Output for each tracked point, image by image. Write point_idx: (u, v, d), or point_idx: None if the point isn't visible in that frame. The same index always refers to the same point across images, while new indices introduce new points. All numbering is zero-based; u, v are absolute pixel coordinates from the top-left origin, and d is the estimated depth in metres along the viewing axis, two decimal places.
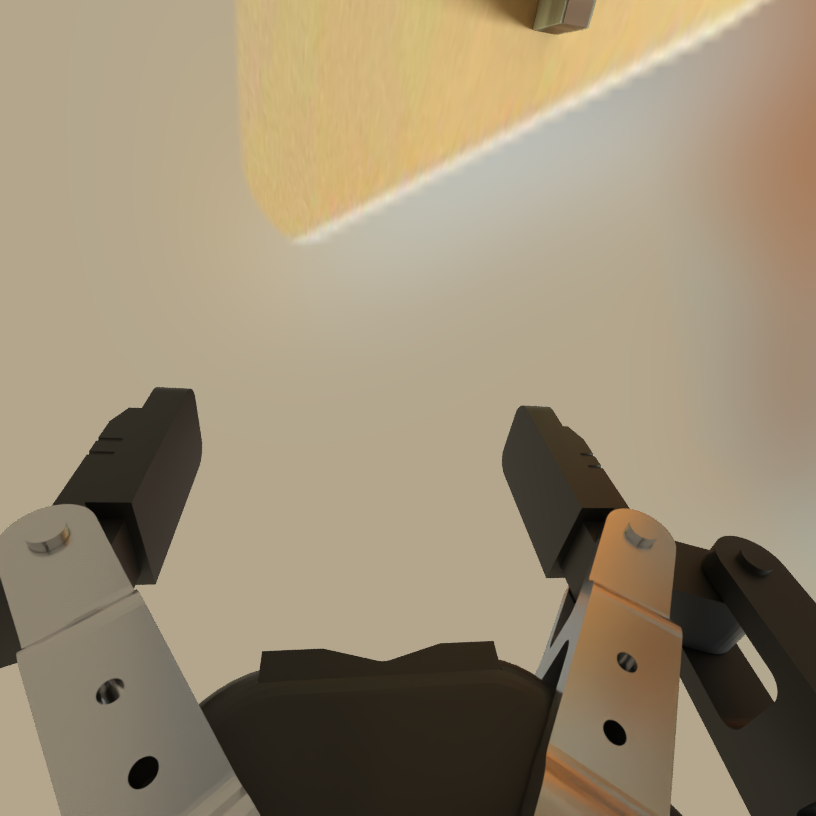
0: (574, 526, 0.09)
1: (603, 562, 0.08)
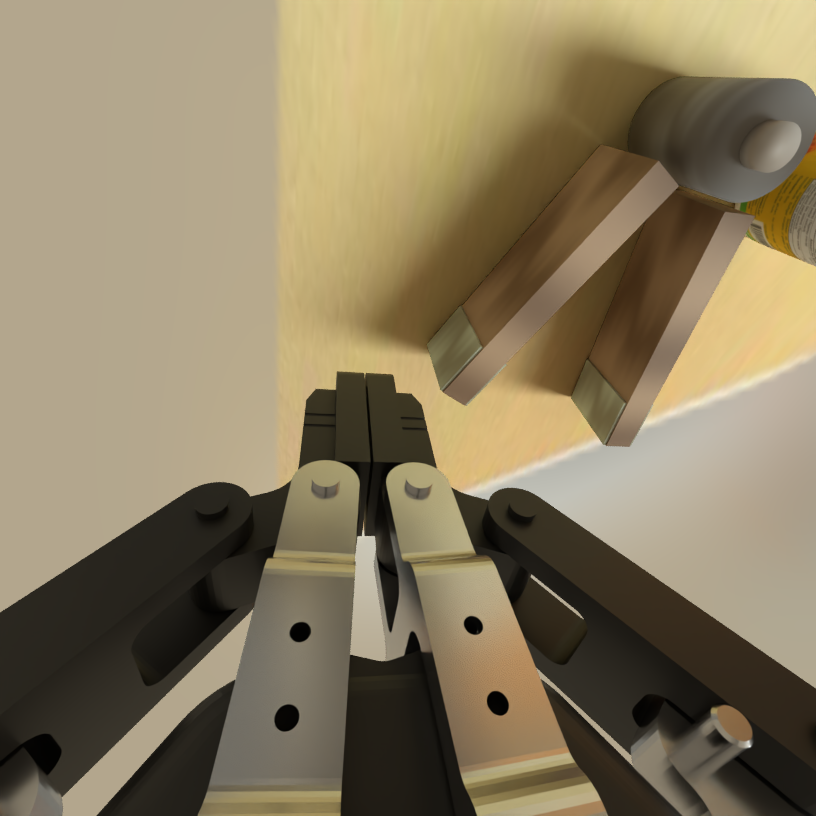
0: (374, 481, 0.09)
1: (405, 532, 0.07)
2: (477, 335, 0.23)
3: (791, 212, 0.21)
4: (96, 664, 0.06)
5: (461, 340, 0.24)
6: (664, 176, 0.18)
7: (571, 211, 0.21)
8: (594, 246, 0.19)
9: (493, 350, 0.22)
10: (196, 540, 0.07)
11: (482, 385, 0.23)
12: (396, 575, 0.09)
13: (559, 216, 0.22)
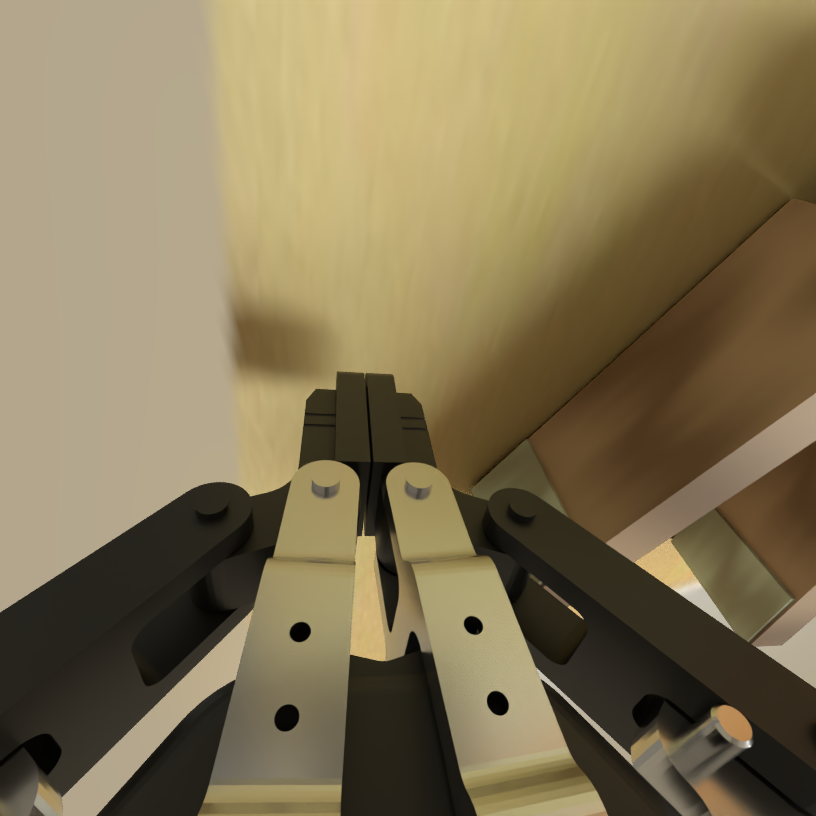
0: (374, 481, 0.09)
1: (405, 532, 0.07)
2: (569, 516, 0.14)
3: None
4: (96, 664, 0.06)
5: None
6: None
7: (751, 320, 0.12)
8: None
9: None
10: (196, 540, 0.07)
11: None
12: (396, 575, 0.09)
13: (721, 324, 0.12)
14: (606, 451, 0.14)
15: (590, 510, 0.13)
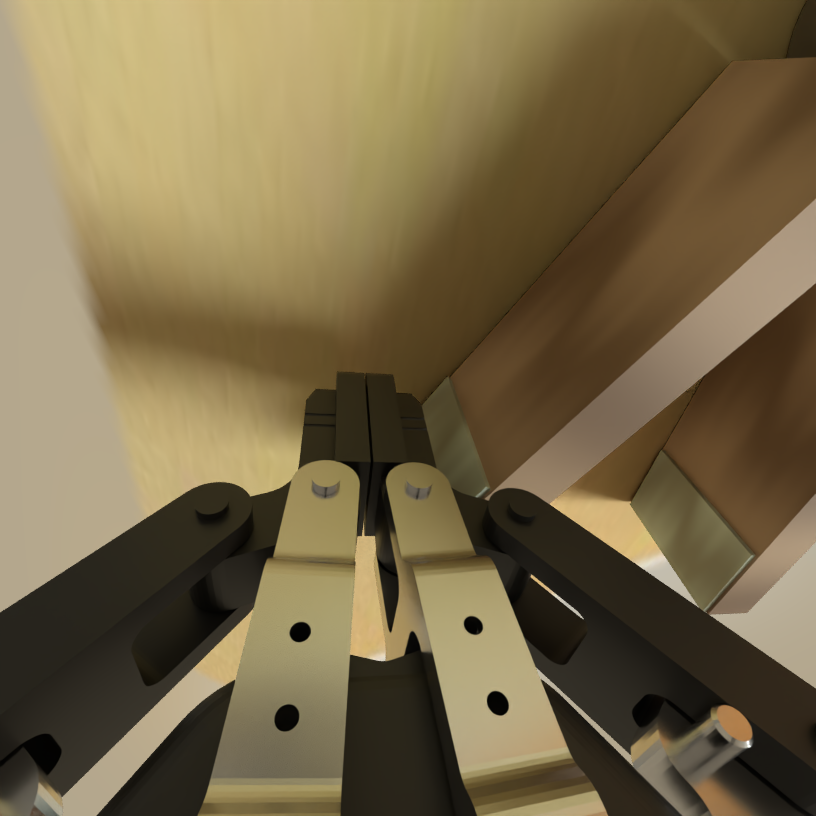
0: (374, 481, 0.09)
1: (404, 532, 0.07)
2: (478, 452, 0.11)
3: None
4: (96, 664, 0.06)
5: (448, 456, 0.12)
6: None
7: (680, 201, 0.10)
8: (758, 282, 0.08)
9: None
10: (196, 540, 0.07)
11: None
12: (396, 575, 0.09)
13: (648, 214, 0.10)
14: (521, 375, 0.12)
15: (499, 442, 0.11)
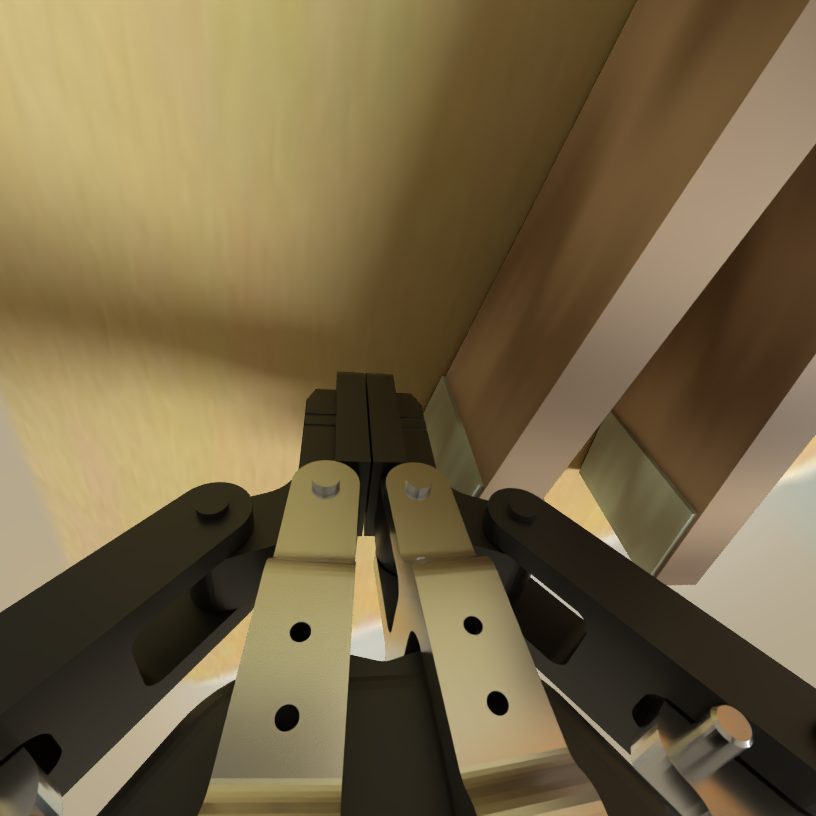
0: (374, 481, 0.09)
1: (404, 532, 0.07)
2: (472, 450, 0.11)
3: None
4: (96, 664, 0.06)
5: (448, 456, 0.12)
6: None
7: (613, 148, 0.09)
8: (698, 220, 0.07)
9: (507, 486, 0.10)
10: (196, 540, 0.07)
11: None
12: (396, 575, 0.09)
13: (588, 169, 0.10)
14: (499, 364, 0.11)
15: (487, 436, 0.11)
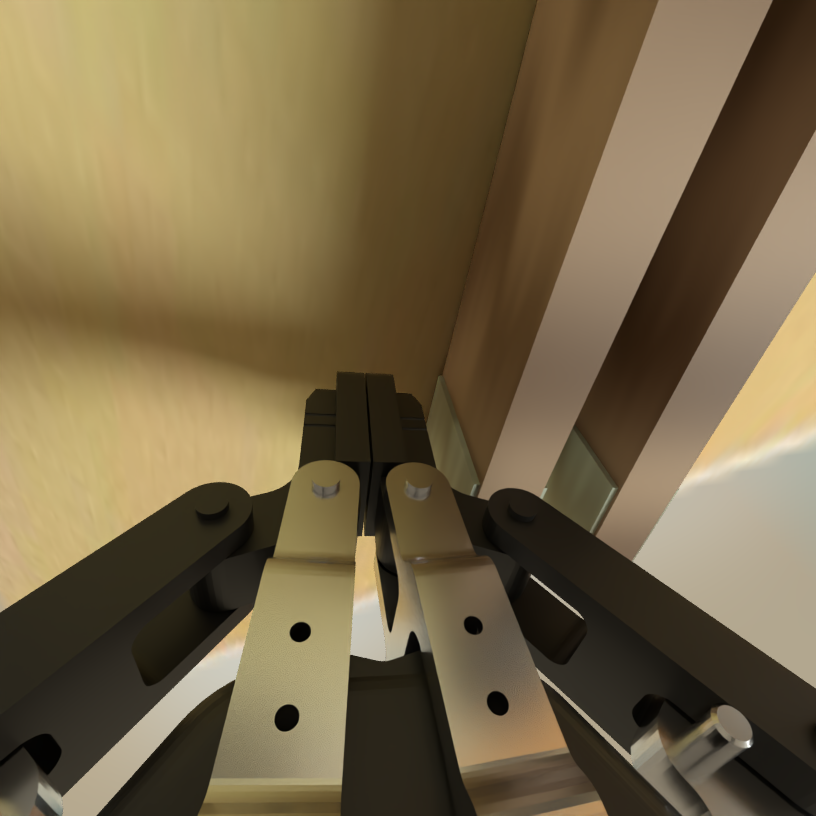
0: (374, 481, 0.09)
1: (404, 532, 0.07)
2: (468, 448, 0.11)
3: None
4: (96, 664, 0.06)
5: (450, 457, 0.12)
6: None
7: (543, 120, 0.09)
8: (627, 182, 0.07)
9: (503, 481, 0.10)
10: (196, 540, 0.07)
11: None
12: (396, 575, 0.09)
13: (526, 145, 0.09)
14: (479, 358, 0.11)
15: (477, 433, 0.11)
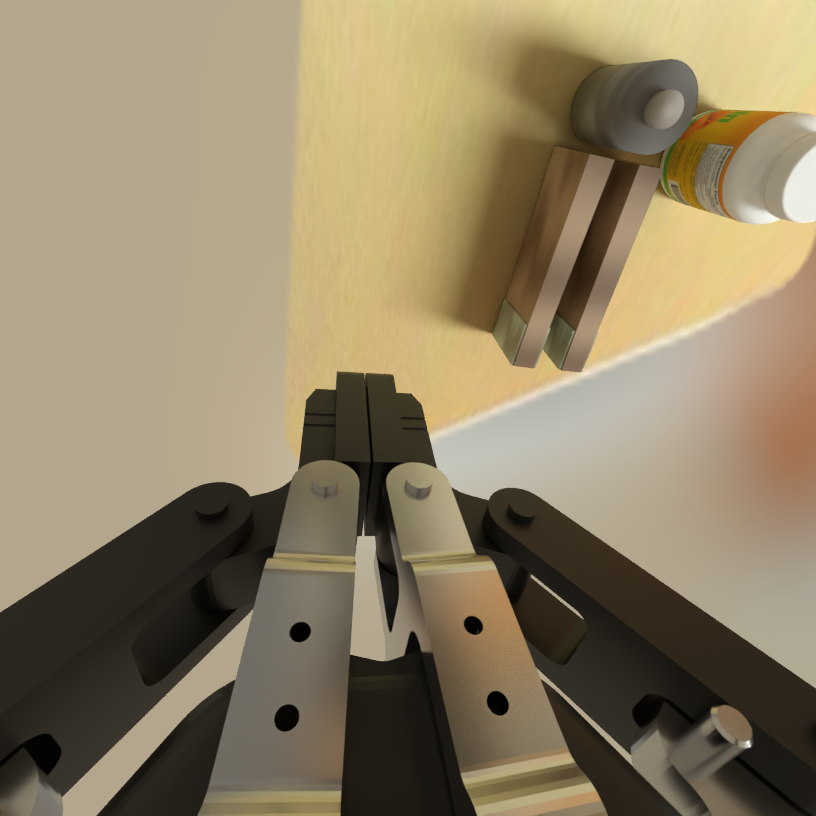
0: (374, 481, 0.09)
1: (405, 532, 0.07)
2: (521, 317, 0.31)
3: (695, 170, 0.27)
4: (96, 664, 0.06)
5: (513, 324, 0.32)
6: (600, 160, 0.25)
7: (551, 204, 0.28)
8: (573, 225, 0.27)
9: (535, 323, 0.30)
10: (196, 540, 0.07)
11: (540, 349, 0.31)
12: (396, 575, 0.09)
13: (545, 210, 0.29)
14: (526, 283, 0.31)
15: (526, 309, 0.30)
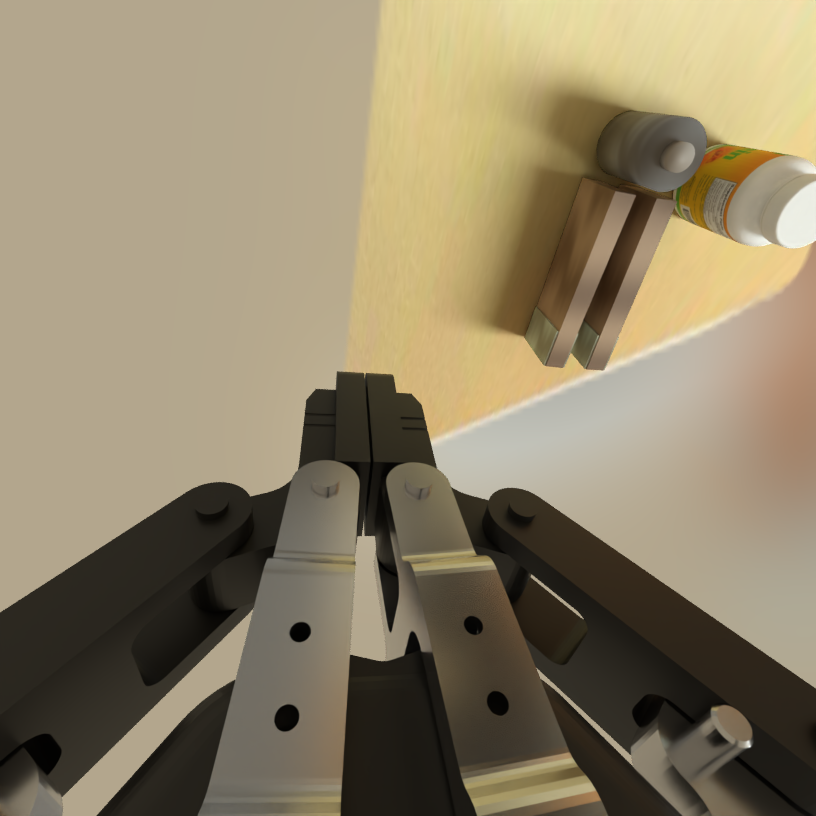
0: (374, 481, 0.09)
1: (404, 532, 0.07)
2: (553, 324, 0.36)
3: (704, 199, 0.32)
4: (96, 664, 0.06)
5: (544, 330, 0.37)
6: (623, 195, 0.30)
7: (579, 229, 0.33)
8: (600, 249, 0.32)
9: (565, 330, 0.35)
10: (196, 540, 0.07)
11: (568, 351, 0.36)
12: (396, 575, 0.09)
13: (574, 233, 0.34)
14: (557, 295, 0.36)
15: (557, 317, 0.35)
